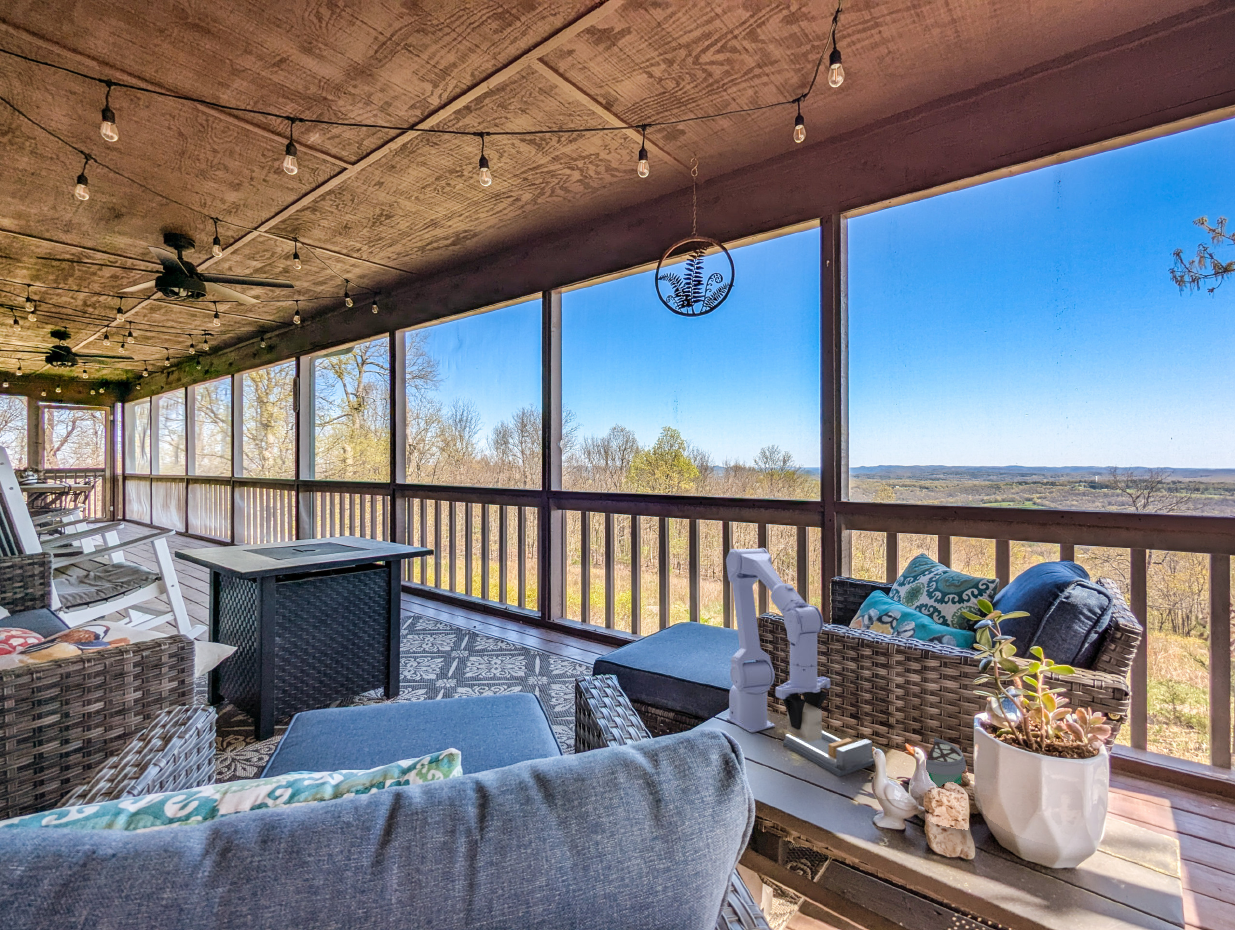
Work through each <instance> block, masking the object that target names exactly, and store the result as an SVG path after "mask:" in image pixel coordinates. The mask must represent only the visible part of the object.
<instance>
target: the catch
mask: <svg viewBox="0 0 1235 930" xmlns="http://www.w3.org/2000/svg"><path fill="white" fill-rule="evenodd" d="M852 743H854V739H851V738H849V737H846V738H844V739H841V740H840V741H837V742H834V743H831V744H828V755H829V756H831V757H833V758H835V759H836V749H837V748H840V747H843V746H846V745H849V744H852Z"/></svg>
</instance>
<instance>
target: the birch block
mask: <svg viewBox="0 0 1235 930" xmlns="http://www.w3.org/2000/svg"><path fill="white" fill-rule="evenodd" d="M786 713H787V715H786V716H787V718H786V720H787V725H786V726H787V727H786V728H787V729H786V730H787V732H788V733H789V734H791V735H794V736H795V737H799V738H801V739H803V740H805V741H807V742H811V741H815V740H818V739H821V738H822V731H823V729H822V728H823V711H822V709H821V708H820V709H818V708H816V707H814V706H812V705H810V704H808V703H805V705H804V708H803V712H802V724H801V729H800V730H797V729H795V728H793V727H791V722H790V718H789V715H788V711H787V710H786Z"/></svg>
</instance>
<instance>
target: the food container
mask: <svg viewBox="0 0 1235 930" xmlns="http://www.w3.org/2000/svg"><path fill="white" fill-rule="evenodd" d="M925 759H926V770H927V772H928V773H929V776H930V778H931V780H932V781H933V782H934V783H935V784H936V785H937V786H938V787H941V786H942V785H943V784H945V783H947V782H954V783H957V784H961V785H962V778H963V777H962V775H963V774H962V773H963V772H965V771H966V770H967V764H966V763H967V762H966V759H965V756H964V754H963V752H962V751H961V749H960V748H959V747H958V746H956V745H954V744H953V743H952V742H949V741H946V740H944V739H940V738H938V737H933V746H932V747H931V748H930V751H929V752H928V756H927V758H925Z"/></svg>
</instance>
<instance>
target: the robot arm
mask: <svg viewBox="0 0 1235 930" xmlns="http://www.w3.org/2000/svg"><path fill="white" fill-rule="evenodd" d="M725 558H726V559H725V564H726V571H727V572H726V573H727V577H728V582H730V583H732V585H731V586H732V590H733V591H732V592H733V600H734V601H733V602H734V609H735V617H736V618H735V619H736V626H737V627H736V628H737V634H738V643H739V649H738V651H737V652H735V654H734V655H733V656H731V658H730V664H731V666H730V673H729V674H730V679H731V682H732V684H733V685H732V686H731V688H730V689H729V692H728V693H729V694H728V695H729V696H728V698H729V699H728V700H729V701H728V705H729V706H728V708H729V709H728V716H726V720H728V721H730V722H732V723H733V724H735V725H736V726H738V727H740V728H741V729H744V730H745V731H747V732H749V733H756V732H760V731H762V730H766V729H767V730H768V729H770V728H774V727H775V726H776V724H774V723H773V722H771V721H769V720H768V691H770V690H771V689H770V688H771V686H772V685H774V682H775V677H776V675H775V669H774V667H773V664H772V661H771V656H770V655H769V654H768V653H767V652H765V651H764V649H762V648H761V642H760V634H759V627H758V619H757V618H758V617H757V612H756V611H757V610H756V604H755V603H756V602H755V594H754V589H753V587H754V584H755V583H756V582H757V581H759V580H760V581H761V583H763V585H765V587H767V589H768V590H769V591H770V592H771V595H770V599H771V601H772V603H773V604H774V605H775V606H776V608H777V609H778V611H779V612H780V614H782V616H783V617H784V618H783V623H784V627H785V629H786V638H787V640H788V641H789V680H788V681H786V682H784V683H783V684H781V685H779V686H777V687H775V697H777V698H779V699H780V700H782V703H783V704H784V706H785V708H786V712H787V711H788V715H789V718H790V722H791V727H793V728H795V729H797V730H800V729H801V724H802V712H803V708H804V705H805V703H808V704H810V705H812V706H814V707H816V708H818V709H821V708H822V705H823V704H824V702H825V701H826V699H827V698H828V697H827V695H828V693H827V692H826V691H824V690H822V689H824V688H825V689H830V688H831V679H830V678H829V677H826V676H818V634H819V633H821V632H822V630H823V627H824V618H823V615H822V613H821V610H820V609H819V607H818V606H815V605H811V604H810V603H807V602H805V600H804V599H803V597H801V595H800V594H799V593H798V592H797V590H796V589H795V588H794V587H793V584H790V583H784V581H783V580H782V579H781V577H780V575H779V574H778V572H777V571H776V570H775V568H774V566H773V565H772V563H773V562H772V555H771V554H770V553H769V551H768V550H767V548H764V547H760V548H740V549H738V548H737V549H736V548H731V549H730V550H729V552H728V553H727V557H725ZM800 694H802V698H801V696H800Z"/></svg>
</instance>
